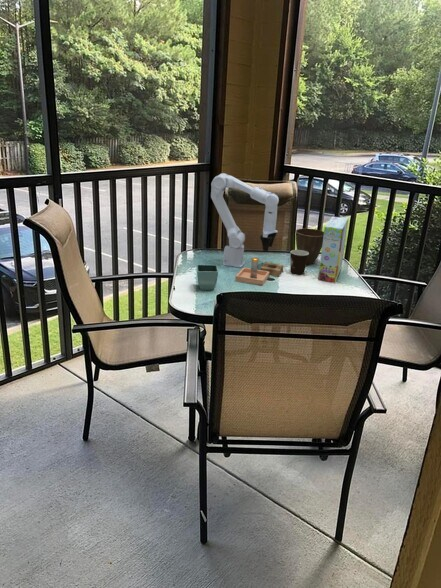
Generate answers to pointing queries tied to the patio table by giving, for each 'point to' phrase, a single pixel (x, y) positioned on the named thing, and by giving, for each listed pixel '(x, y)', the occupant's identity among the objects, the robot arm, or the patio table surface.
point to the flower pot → (207, 276)
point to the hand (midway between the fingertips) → (267, 248)
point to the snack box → (333, 249)
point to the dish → (245, 277)
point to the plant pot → (309, 243)
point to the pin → (254, 268)
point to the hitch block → (273, 269)
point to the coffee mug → (298, 261)
